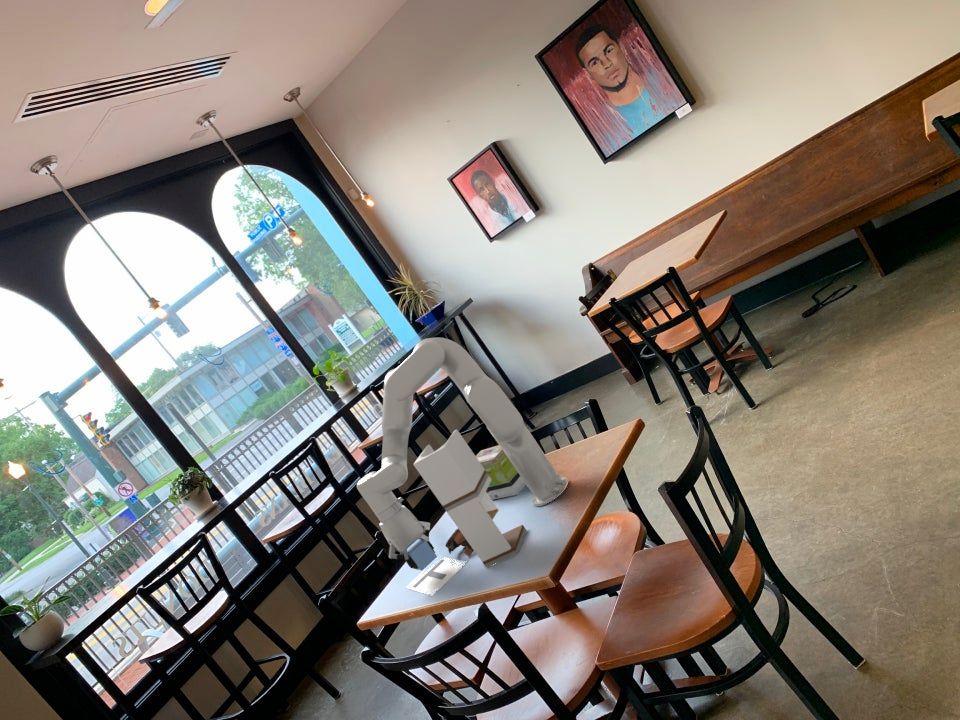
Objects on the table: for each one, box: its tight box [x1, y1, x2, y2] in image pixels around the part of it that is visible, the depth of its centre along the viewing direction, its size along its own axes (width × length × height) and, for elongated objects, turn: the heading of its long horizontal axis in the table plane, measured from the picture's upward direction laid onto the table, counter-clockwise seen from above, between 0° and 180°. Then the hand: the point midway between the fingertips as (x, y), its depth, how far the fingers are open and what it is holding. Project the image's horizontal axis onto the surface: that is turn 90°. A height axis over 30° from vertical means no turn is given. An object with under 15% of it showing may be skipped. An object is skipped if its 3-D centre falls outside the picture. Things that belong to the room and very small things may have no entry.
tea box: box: [475, 444, 527, 501], centre depth 240 cm, size 15×10×15 cm, turn 49°
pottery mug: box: [445, 528, 475, 557], centre depth 216 cm, size 12×10×8 cm
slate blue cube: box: [407, 538, 438, 572], centre depth 213 cm, size 6×6×6 cm
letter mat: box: [405, 556, 466, 597], centre depth 214 cm, size 20×14×1 cm
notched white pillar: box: [413, 429, 527, 568], centre depth 198 cm, size 11×11×35 cm
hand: (423, 560), depth 213 cm, fingers closed on slate blue cube, 6 cm apart
